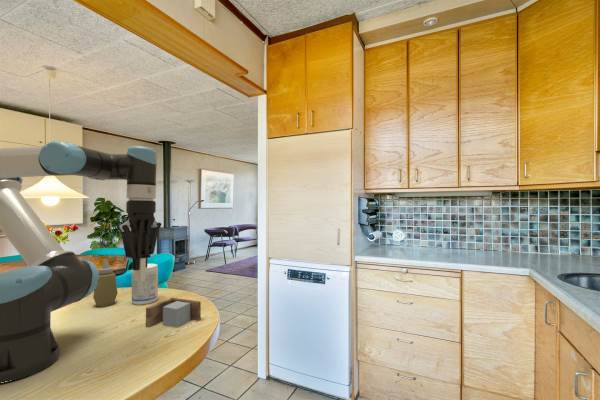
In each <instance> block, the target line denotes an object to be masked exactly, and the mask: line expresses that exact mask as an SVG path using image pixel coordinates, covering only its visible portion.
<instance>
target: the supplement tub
mask: <svg viewBox="0 0 600 400" xmlns="http://www.w3.org/2000/svg"><path fill="white" fill-rule="evenodd" d="M158 267H159V266H158V264H156V263H147V268H146V274H145V281H142V282H140V281H134V270H133V269H132V268H131V303H132V304H133V305H137V306H139V305H148V304H151V303H154V302H156V301H157V300H158V297H159V288H158V287H159V285H158V284H159V278H158V277H159V268H158Z"/></svg>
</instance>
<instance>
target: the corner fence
mask: <svg viewBox="0 0 600 400" xmlns="http://www.w3.org/2000/svg"><path fill="white" fill-rule="evenodd" d="M176 301H180V302H187V303H190V321H197V322H198V321H200V320H201V318H202V317H201V316H202V315H201V313H202V312H201V311H202V310H201V308H202V307H201V305H202V303H201V302H202V301H201V300H191V299H186V298H179V297H178V298H177V297H169V298H167V299H164V300H161V301H159V302H157V303H155V304H152V305H150V306H147V307H145V327H147V328H150V327H152V326H154V325H156V324H158V323H160V322H163V307H164V306H166V305H169V304H171V303H173V302H176Z"/></svg>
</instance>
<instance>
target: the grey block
mask: <svg viewBox="0 0 600 400" xmlns="http://www.w3.org/2000/svg"><path fill="white" fill-rule="evenodd" d="M190 321H191V319H190V303H187V302H180V301H176V302H173V303H171V304H169V305H166V306H164V307H163V321H162V326H166V327H172V328H179V327H181V326H183V325H184V324H187V323H188V322H190Z"/></svg>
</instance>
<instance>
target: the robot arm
mask: <svg viewBox="0 0 600 400" xmlns="http://www.w3.org/2000/svg"><path fill="white" fill-rule="evenodd" d="M126 151H127V152H126V153H124V154H122V153H121V154H117V153H107V152H104V151H101V150H100V151H99V150H95V149H92V148H88V147H84V146H80V145H77V144H74V143H71V142H67V141H66V142H65V141H61V140H60V141H58V140H53V141H50V142H48V143H46V144H44V145H41V146H40V145H39V146H38V145H37V146H18V147H0V230H1V232H2V233H3V234H4V236H5V237H6V238H7V239H8V241H9V242H10V243H11V245H12V246H13V247H14V249H15V250H16V251H17V252H18V254H19V256H21V257H22V259H23V261H24V262H25V263H26V264H27V266H26V267H25V266H24V267H21V268H16V269H10V270H7V271H4V272H1V273H0V383H1V382H5V381H10V380H15V379H18V380H21V379H24V378H27V377H29V376H31V375H34V374H36V373H39V372H41V371H43V370H44V369H46V368H48V367H49V366H51V365H53V364H54V363H55V362H57V360H58V359H59V356H60V346H59V344H58V341H57V339H56V337H55V335H54V332H53V330H52V327H51V317H52V316H51V315H52V312H55V311H56V310H60V309H61V308H65V307H67V306H69V305H71V304H74V303H77V302H80V301H82V300H83V299H86V298H87V297H89V296H90V295H91V294H93V293H94V290H95V288H96V287H97V284H98V280H99V269H98V268H97V266H96V264H94V263H93V262H91V260H90V261H89V260H85V259H79V258H78V256H77V255H76V253H75V252H74V251H72V250H65V249H64V248H63V247H62V245H61V244H60V243H59V242H58V240H57V239H56V238H55V236H54V235H53V234H52V232H50V230H49V229H48V227H47V226H46V225H45V224H44V222H43V221H42V220H41V218H40V217H39V216H38V214H37V213H36V212H35V211H34V209H33V208H32V206H31V205H30V204H29V203H28V201H27V200H26V199H25V198H24V196H23V194H21V193H20V192H21V190H22V186H23V185H22V183H23V178H30V177H31V178H32V177H33V178H34V177H50V176H52V177H54V176H55V177H57V176H58V177H59V176H60V177H61V176H78V177H85V178H88V179H90V180H98V181H106V180H108V181H109V180H110V181H112V180H114V181H117V180H119V181H121V180H123V181H124V180H126V197H125V198H126V199H128V200H127V201H126V205H125V207H126V209H125V212H126V213H127V216H126V218H125V222H123V223H122V224H118V225H117V229H118V231H119V232H120V235H121V241H122V245H123V249H124V255H125V258H130V259H131V260H132V267H131V270H132V269H133V270H134V281H140V282H142V281H145V274H146V268H147V264H148V260H149V258H151V256H152V255H154V252H155V248H156V245H157V239H158V234H159V231H160V228H161V227H162V222H158V221H157V220H156V218H155V215H154V214H155V213H156V206H157V205H156V204H157V202H156V201H155V199H156V198H157V197H156V196H157V165H158V163H157V152H156V150H155V149H154V148H151V147H149V146H148V147H147V146H140V145H133V146H129V147H128V148H127V150H126ZM26 376H27V377H26ZM23 377H24V378H23ZM20 378H21V379H20ZM15 381H16V380H15Z"/></svg>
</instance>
